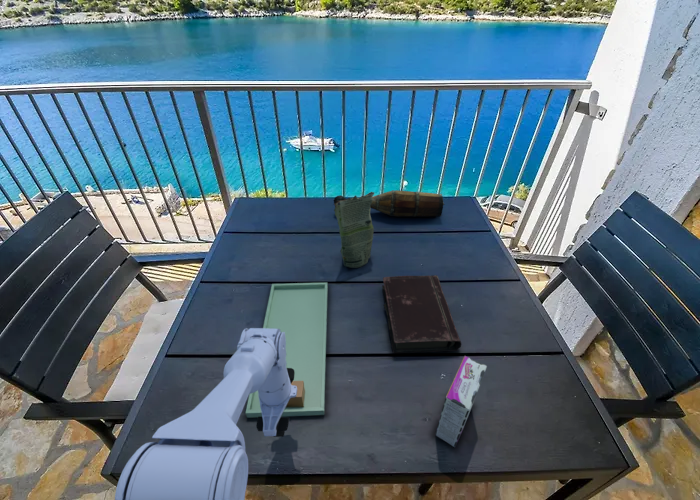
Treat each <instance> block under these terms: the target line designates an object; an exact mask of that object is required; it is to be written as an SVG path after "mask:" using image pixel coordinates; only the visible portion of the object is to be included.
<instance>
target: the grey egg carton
mask: <svg viewBox="0 0 700 500" xmlns="http://www.w3.org/2000/svg"><path fill="white" fill-rule="evenodd" d="M487 367H488V366H487V365H486V364H484V363H481V362H479V361H477V360H474V359H472V358H471V357H469V356H466V355H464V356H463V358H462V360H461V363H460V365H459V367H458V369H457V371H456V374H455V376H454V378H453V380H452V382H451V385H450V387H449V389H448V391H447V393H446V396H445V399H444V402H443V405H442V409H441V412H440V416H439V420H438V424H437V427H436V430H435V434H434V435H435V437H437V438H438V439H440V440H442V441H444V442H446V443H447V444H448V445H450V446H452V447H454V448H456V446H457V444H458V442H459V439H460V437H461V435H462V433H463V430H464V428H465V425H466V423H467V420H468V418H469V415H470V412H471V410H472V407H473V405H474V403H475V399H476V397H477V395H478V392H479V389H480V387H481V385H482V381H483V378H484V376H485V373H486V370H487Z"/></svg>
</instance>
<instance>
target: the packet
mask: <svg viewBox="0 0 700 500" xmlns="http://www.w3.org/2000/svg"><path fill="white" fill-rule="evenodd" d="M291 385H293V386H297V395H296V397H294V398H290V399H289V401H288V403H287V405H286V407H304V398H305V387H304V381H293V382H292V383H291Z"/></svg>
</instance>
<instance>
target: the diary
mask: <svg viewBox="0 0 700 500" xmlns="http://www.w3.org/2000/svg"><path fill="white" fill-rule="evenodd" d="M382 280H383V284H382V293H383V300H384V304H383V307H384V310H385V312H386V317H387V325H388V331H389V336H390V337H389V338H390V343H391V348H392V353H393V354H412V353H435V352H436V353H437V352H457V351H459V350H460V349H461V347H462V342H461V338H460V336H459V333H458V331H457V328H456V325H455V322H454V320H453V317H452V316H453V315H452V313H451V310H450V308H449V304H448V302H447V299H446V296H445V294H444V291H443V288H442V285H441V282H440V279H439V276H438V275H433V274H432V275H395V276H394V275H393V276H385V277H384V276H383V277H382Z"/></svg>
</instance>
